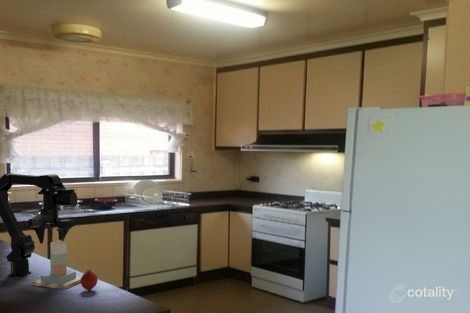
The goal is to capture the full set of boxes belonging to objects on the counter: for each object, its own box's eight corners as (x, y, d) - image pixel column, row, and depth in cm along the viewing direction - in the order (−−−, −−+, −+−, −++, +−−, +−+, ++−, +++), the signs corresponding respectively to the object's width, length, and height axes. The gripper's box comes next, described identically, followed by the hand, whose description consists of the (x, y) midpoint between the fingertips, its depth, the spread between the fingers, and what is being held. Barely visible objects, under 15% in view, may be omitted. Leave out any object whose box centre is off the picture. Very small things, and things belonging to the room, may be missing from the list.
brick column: (50, 273, 180) (50, 240, 179) (61, 271, 183) (61, 238, 182) (55, 275, 176) (55, 242, 176) (66, 273, 179) (66, 240, 179)
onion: (92, 293, 167) (92, 271, 166) (77, 292, 168) (77, 270, 168) (100, 288, 172) (100, 267, 172) (85, 287, 173) (85, 266, 173)
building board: (32, 285, 177) (32, 281, 177) (52, 277, 187) (52, 274, 187) (65, 288, 172) (65, 285, 172) (84, 280, 182) (84, 277, 182)
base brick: (40, 281, 177) (40, 275, 177) (56, 275, 185) (56, 269, 185) (60, 284, 174) (60, 277, 174) (76, 277, 182) (75, 271, 182)
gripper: (16, 207, 183) (17, 246, 184) (56, 209, 177) (56, 250, 178) (37, 203, 194) (37, 241, 194) (75, 205, 188) (75, 244, 188)
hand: (50, 244), depth 188 cm, fingers open, 9 cm apart
